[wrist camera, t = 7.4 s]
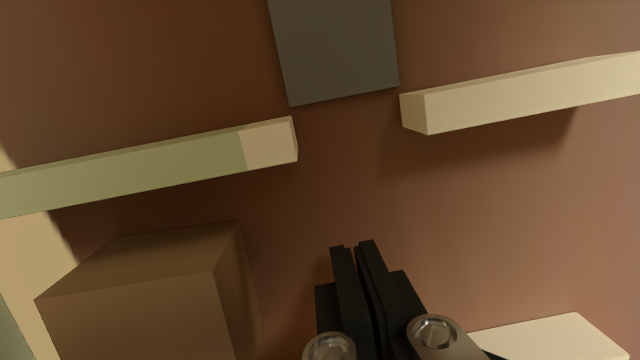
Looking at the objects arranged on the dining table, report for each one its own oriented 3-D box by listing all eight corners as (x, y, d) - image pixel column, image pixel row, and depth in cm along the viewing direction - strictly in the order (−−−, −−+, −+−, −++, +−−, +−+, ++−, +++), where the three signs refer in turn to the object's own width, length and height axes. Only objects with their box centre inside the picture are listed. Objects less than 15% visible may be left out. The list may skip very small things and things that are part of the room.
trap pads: (264, -16, 10) (263, -19, 10) (383, -39, 10) (385, -43, 10) (360, 444, 16) (361, 450, 16) (437, 428, 16) (440, 434, 16)
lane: (-92, 190, 12) (-195, 216, 9) (585, 57, 12) (659, 48, 9) (50, 437, 15) (1, 503, 12) (574, 332, 15) (627, 378, 13)
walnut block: (115, 237, 13) (33, 299, 9) (239, 217, 13) (212, 271, 9) (151, 339, 14) (94, 432, 10) (263, 321, 14) (248, 407, 10)
